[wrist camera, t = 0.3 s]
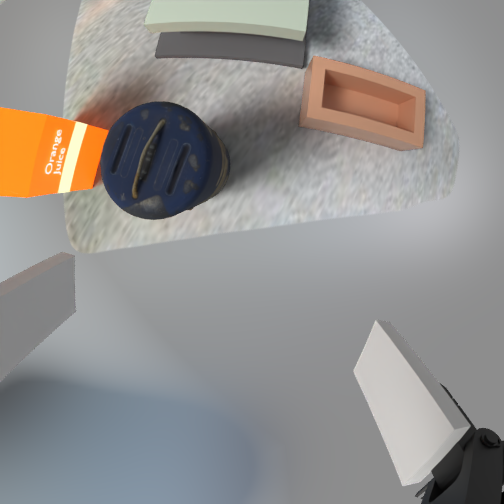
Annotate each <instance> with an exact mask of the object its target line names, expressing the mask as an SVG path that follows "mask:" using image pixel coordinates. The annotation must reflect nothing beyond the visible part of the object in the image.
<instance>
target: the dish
mask: <svg viewBox="0 0 504 504" xmlns="http://www.w3.org/2000/svg"><path fill="white" fill-rule="evenodd" d="M424 124H425V90H423V89H420V88H418V87H415V86H413V85H410V84H408V83H405V82H403V81H400V80H397V79H394V78H392V77H389V76H386V75H383V74H380V73H377V72H374V71H371V70H368V69H364V68H361V67H358V66H354V65H350V64H347V63H343V62H339V61H335V60H331V59H327V58H322V57H318V56H313V58H312V60H311V62H310V64H309V66H308V68H307V70H306V72H305V77H304V86H303V94H302V103H301V111H300V119H299V127H304V128H309V129H315V130H320V131H325V132H329V133H334V134H338V135H343V136H347V137H351V138H355V139H359V140H363V141H367V142H371V143H375V144H378V145H382V146H385V147H389V148H392V149H396V150H399V151H405V150H413V149H421V148H423V140H424Z"/></svg>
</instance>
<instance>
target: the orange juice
mask: <svg viewBox="0 0 504 504" xmlns="http://www.w3.org/2000/svg"><path fill="white" fill-rule="evenodd" d="M108 131H109V130H105V129H101V128H98V127H94V126H90V125H87V124H84V123H80V122H76V121H71V120H67V119H63V118H59V117H54V116H50V115H46V114H39V113H31V112H26V111H20V110H14V109H7V108H1V107H0V196H12V197H26V198H27V197H33V196H38V195H46V194H53V193H63V192H70V191H75V190H83V189H92V187H93V183H94V179H95V175H96V171H97V167H98V164H99V160H100V157H101V153H102V149H103V145H104V142H105V139H106V137H107V134H108Z"/></svg>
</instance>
